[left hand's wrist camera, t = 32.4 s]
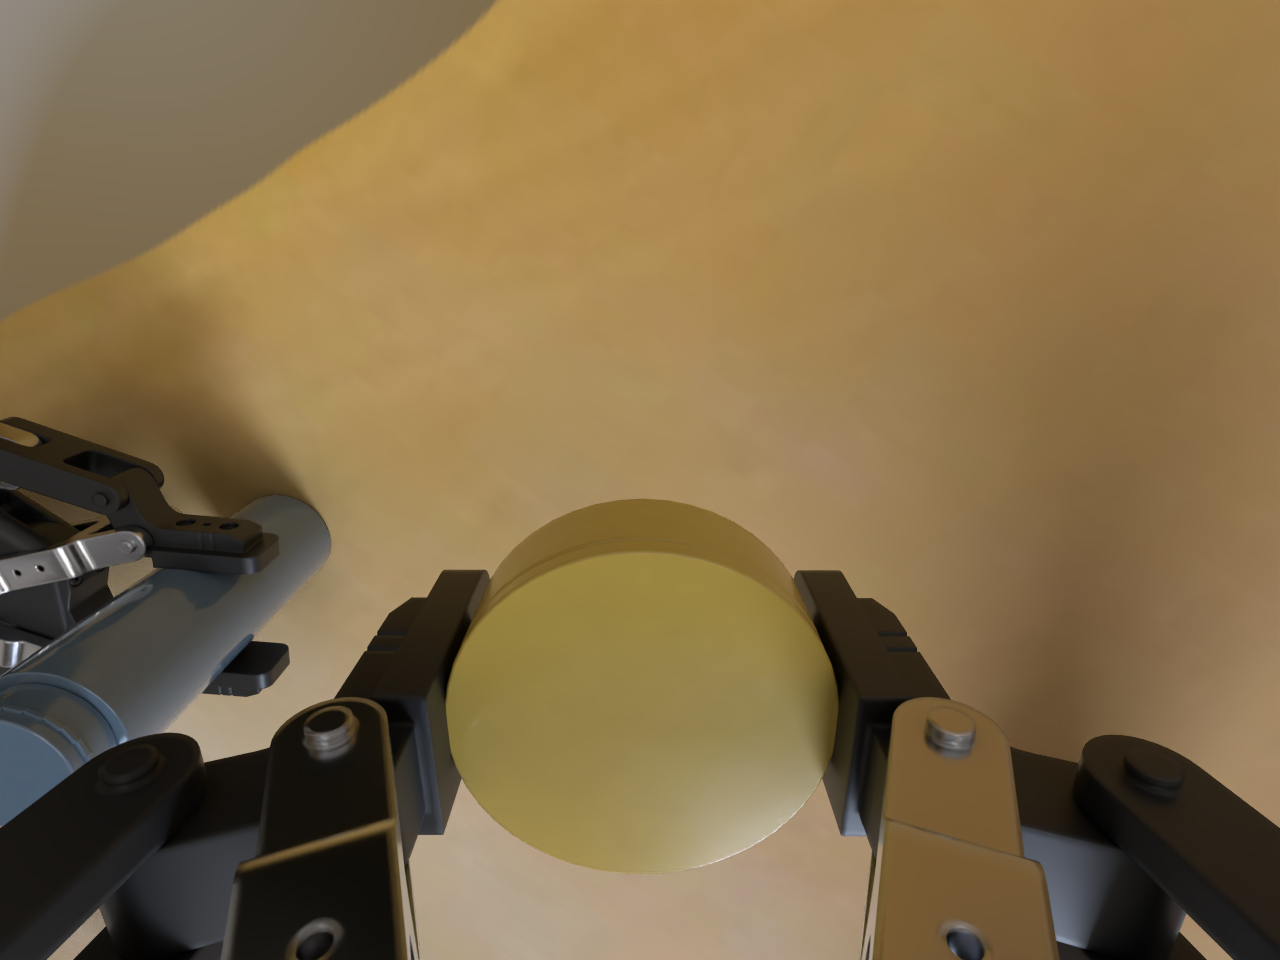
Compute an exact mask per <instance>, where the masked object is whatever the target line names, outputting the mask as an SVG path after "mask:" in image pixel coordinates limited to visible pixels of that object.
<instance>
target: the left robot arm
mask: <svg viewBox="0 0 1280 960" xmlns="http://www.w3.org/2000/svg"><path fill="white" fill-rule="evenodd" d="M489 581H490V578H489V574H488V572H487V570H443V571H442V573H441V574H440V576H439V578H438V579H437V581H436V583H435V585H434V586H433V588H432V590H431V591H430V593H429V595H428V597H427V598H410V599H409V600H408V601H406V602H405V603H403V604H402V605H401V606H399V607H398V608H396V609H395V610H394V611H392V612H391V613H389V615H388V616H387V618H386V619H385V621H384V622H383V624H382V626H381V627H380V629H379V630H378V632H377V636H374V638H373V639H372V641H371V642H370V644H369V646H368V647H367V651H365V652H364V653H363V655H362V656H361V658H360V659H359V661H358V662H357V664H356V666H355V667H354V669H353V670H352V672H351V673H350V675H349V676H348V678H347V679H346V681H345V683H344V684H343V686H342V687H341V689H340V690H339V692H338V693H337V695H336V696H335V698H334V699H331V700H327V701H324V702H320V703H318V704H315V705H312V706H310V707H308V708H306V709H304V710H302V711H300V712H299V713H297V714H295V715H294V716H293V717H291V718H290V719H289V720H287V721H286V722H285V723H284V724H283V725H282V726H281V727H280V728H279V729H278V731H277V732H276V733H275V735H274V737H273V739H272V741H271V745H270V747H269V748H267V749H263V750H259V751H255V752H251V753H246V754H242V755H237V756H233V757H228V758H223V759H219V760H214V761H210V762H205V763H204V762H203V758H202V754H201V751H200V747H199V745H198V743H197V742H196V741H195V740H194V739H193V738H191V737H189V736H187V735H184V734H180V733H159V734H152V735H147V736H143V737H139V738H136V739H133V740H129V741H127V742H124V743H122V744H119V745H117V746H114V747H112V748H110V749H108V750H106V751H104V752H102V753H101V754H99V755H97V756H96V757H94V758H92V759H91V760H90V761H88V762H87V763H85V764H84V765H82V766H81V767H80V768H79V769H77V770H76V771H75V772H73V773H72V774H71V775H69V776H68V777H67V778H65V779H64V780H63V781H61V782H60V783H59V784H58V785H56V786H55V787H54V788H52V789H51V790H50V791H48V792H47V793H46V794H44V795H43V796H42V797H40V798H39V799H38V800H37V801H35V802H34V803H33V804H31V805H30V806H29V807H27V808H26V809H25V810H23V811H22V812H21V813H19V814H18V815H17V816H16V817H14V818H13V819H12V820H10V821H9V822H8V823H6V824H5V825H4V826H2V827H1V828H0V960H47V959H48V958H49V957H50V956H51V955H52V954H53V953H54V952H55V951H56V950H57V949H58V948H59V947H60V946H61V945H62V944H63V943H64V942H65V941H66V940H67V939H68V938H69V937H70V936H71V935H72V934H73V933H74V932H75V931H76V930H77V929H78V928H79V927H80V926H81V925H82V924H83V923H84V922H85V921H86V920H87V919H88V918H89V917H90V916H91V915H92V914H93V913H94V912H95V911H96V910H97V909H98V908H100V911H101V913H102V916H103V919H104V921H105V924H106V927H105V928H104V929H103V930H102V931H101V932H100V933H99V934H98V935H97V936H96V937H95V938H94V939H93V940H92V941H91V942H90V943H89V944H88V945H87V946H86V947H85V948H84V949H83V950H82V951H81V952H80V953H79V954H78V955H77V956H76V958H75V959H74V960H421V955H420V946H419V937H418V928H417V919H416V910H415V901H414V892H413V883H412V874H411V868H410V861H409V858H410V855H411V853H412V850H413V847H414V844H415V842H416V839H417V836H418V835H443V834H444V831H445V828H446V825H447V822H448V819H449V815H450V812H451V809H452V806H453V803H454V800H455V797H456V794H457V791H458V788H459V785H460V781H461V778H462V777H461V776H460V774H459V772H458V770H457V768H456V765H455V762H454V760H453V757H452V754H451V749H450V741H449V733H448V725H447V716H446V706H445V697H446V689H447V683H448V679H449V676H450V673H451V669H452V666H453V662H454V660H455V658H456V655H457V653H458V651H459V649H460V647H461V644H462V641H463V639H464V637H465V634H466V632H467V630H468V627H469V625H470V623H471V620H472V618H473V616H474V613H475V611H476V609H477V607H478V604H479V602H480V600H481V597H482V595H483V593H484V591H485V589H486V587H487V585H488V583H489ZM794 581H795V583H796V585H797V587H798V589H799V592H800V594H801V596H802V598H803V600H804V603H805V605H806V607H807V609H808V612H809V614H810V616H811V619H812V621H813V623H814V625H815V628H816V630H817V632H818V634H819V637H820V639H821V641H822V644H823V646H824V648H825V650H826V653H827V655H828V657H829V659H830V662H831V664H832V667H833V671H834V675H835V678H836V682H837V685H838V694H839V707H838V717H837V725H836V733H835V741H834V749H833V755H832V757H831V760H830V763H829V765H828V768H827V770H826V772H825V774H824V776H823V778H822V779H823V782H824V785H825V788H826V791H827V794H828V797H829V800H830V803H831V806H832V809H833V812H834V815H835V818H836V821H837V824H838V827H839V830H840V833H841V836H867V838H868V840H869V843H870V846H871V848H872V855H871V861H870V868H869V874H868V883H867V892H866V901H865V910H864V919H863V928H862V937H861V946H860V955H859V960H1206V959H1205V958H1204V956H1203V955H1202V954H1201V953H1200V952H1199V951H1198V950H1197V949H1196V948H1195V947H1194V946H1193V945H1192V944H1191V943H1190V942H1189V941H1188V940H1187V939H1186V938H1185V937H1184V936H1183V935H1182V934H1181V933H1180V932H1179V931H1180V928H1181V926H1182V923H1183V921H1184V918H1185V915H1186V913H1187V914H1188V915H1189V916H1190V917H1191V918H1192V919H1193V920H1194V921H1195V922H1196V923H1197V924H1198V925H1199V926H1200V927H1201V928H1202V929H1203V930H1204V931H1205V932H1206V933H1207V934H1208V935H1209V936H1210V937H1211V938H1212V939H1213V940H1214V941H1215V942H1216V943H1217V944H1218V945H1219V946H1220V947H1221V948H1222V949H1223V950H1224V951H1225V952H1226V953H1227V954H1228V955H1229V956H1230V957H1231V958H1232V959H1233V960H1280V828H1279V827H1278V826H1276V825H1275V824H1274V823H1272V822H1271V821H1270V820H1268V819H1267V818H1266V817H1264V816H1263V815H1262V814H1261V813H1259V812H1258V811H1257V810H1255V809H1254V808H1253V807H1251V806H1250V805H1249V804H1247V803H1246V802H1245V801H1243V800H1242V799H1241V798H1240V797H1238V796H1237V795H1236V794H1234V793H1233V792H1232V791H1230V790H1229V789H1228V788H1226V787H1225V786H1224V785H1222V784H1221V783H1220V782H1219V781H1217V780H1216V779H1215V778H1213V777H1212V776H1211V775H1209V774H1208V773H1207V772H1205V771H1204V770H1203V769H1201V768H1200V767H1199V766H1197V765H1196V764H1194V763H1193V762H1192V761H1190V760H1189V759H1187V758H1185V757H1183V756H1182V755H1180V754H1178V753H1176V752H1174V751H1172V750H1170V749H1168V748H1166V747H1163V746H1161V745H1158V744H1156V743H1153V742H1150V741H1147V740H1144V739H1139V738H1135V737H1130V736H1123V735H1103V736H1099V737H1095V738H1093V739H1091V740H1089V741H1088V742H1087V743H1086V744H1085V746H1084V748H1083V751H1082V754H1081V758H1080V762H1079V763H1074V762H1070V761H1065V760H1061V759H1056V758H1051V757H1047V756H1042V755H1038V754H1033V753H1029V752H1025V751H1021V750H1018V749H1015V748H1012V747H1010V745H1009V741H1008V739H1007V737H1006V735H1005V733H1004V732H1003V731H1002V729H1001V728H1000V727H999V726H998V725H997V724H996V723H995V722H994V721H993V720H991V719H990V718H989V717H987V716H986V715H985V714H983V713H981V712H980V711H978V710H976V709H974V708H972V707H970V706H968V705H965V704H962V703H960V702H956V701H953V700H951V699H950V698H949V696H948V694H947V693H946V691H945V690H944V688H943V687H942V685H941V684H940V682H939V681H938V679H937V678H936V676H935V675H934V673H933V672H932V670H931V669H930V667H929V666H928V664H927V663H926V661H925V660H924V658H923V657H922V655H921V653H920V652H917V647H916V646H915V644H914V643H913V641H912V640H911V638H910V637H909V636H907V632H906V631H905V629H904V628H903V626H902V625H901V623H900V622H899V620H898V619H897V617H896V616H895V614H894V613H892V612H891V611H889V610H888V609H887V608H885V607H884V606H882V605H881V604H879V603H878V602H877V601H875V600H874V599H872V598H857V597H856V596H855V594H854V592H853V591H852V589H851V587H850V585H849V584H848V582H847V580H846V579H845V577H844V575H843V574H842V572H841V571H838V570H798V571H797V572H796V574H795V577H794Z"/></svg>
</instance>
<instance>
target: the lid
mask: <svg viewBox="0 0 1280 960" xmlns="http://www.w3.org/2000/svg"><path fill="white" fill-rule="evenodd" d="M445 706H446V716H447V725H448V733H449V741H450V749H451V754H452V757H453V760H454V762H455V765H456V768H457V770H458V772H459V774H460V776H461V777H462V779H463V781H464V783H465V785H466V787H467V788H468V789H469V791H470V792H471V794H472V795H473V796H474V798H475V799H476V800H477V802H478V803H479V804H480V805H481V807H482V808H483V809H484V810H485V811H486V812H487V813H488V814H489V815H490V816H491V817H492V818H493V819H494V820H495V821H496V822H497V823H499V824H500V825H501V826H502V827H504V828H505V829H506V830H507V831H509V832H510V833H511V834H512V835H514V836H516V837H517V838H519V839H520V840H522V841H523V842H525V843H527V844H528V845H530V846H532V847H534V848H536V849H538V850H540V851H542V852H544V853H546V854H548V855H550V856H552V857H555V858H558V859H561V860H563V861H566V862H569V863H572V864H575V865H579V866H583V867H587V868H591V869H595V870H602V871H608V872H615V873H629V874H655V873H668V872H675V871H682V870H689V869H693V868H697V867H701V866H705V865H709V864H712V863H715V862H718V861H720V860H723V859H726V858H729V857H732V856H734V855H736V854H738V853H740V852H742V851H744V850H746V849H748V848H750V847H752V846H754V845H756V844H757V843H759V842H760V841H762V840H764V839H765V838H767V837H768V836H770V835H772V834H773V833H774V832H775V831H777V830H778V829H779V828H780V827H782V826H783V825H784V824H785V823H787V822H788V821H789V820H790V819H791V818H792V817H793V816H794V815H795V814H796V813H797V812H798V811H799V810H800V809H801V808H802V807H803V806H804V804H805V803H806V802H807V800H808V799H809V798H810V796H811V795H812V794H813V792H814V791H815V790H816V788H817V787H818V785H819V783H820V781H821V779H822V778H823V776H824V774H825V772H826V770H827V768H828V765H829V763H830V760H831V757H832V755H833V749H834V741H835V733H836V725H837V717H838V707H839V694H838V685H837V682H836V678H835V675H834V671H833V667H832V664H831V662H830V659H829V657H828V655H827V653H826V650H825V648H824V646H823V644H822V641H821V639H820V637H819V634H818V632H817V630H816V628H815V625H814V623H813V621H812V619H811V616H810V614H809V612H808V609H807V607H806V605H805V603H804V600H803V598H802V596H801V594H800V592H799V589H798V587H797V585H796V583H795V581H794V579H793V578H792V576H791V575H790V573H789V572H788V570H787V569H786V567H785V566H784V564H783V563H782V562H781V561H780V560H779V559H778V557H777V556H776V555H775V554H774V553H773V552H772V551H771V549H770V548H768V547H767V546H766V545H765V544H764V543H763V542H761V541H760V540H759V539H758V538H757V537H756V536H754V535H753V534H752V533H750V532H749V531H747V530H746V529H744V528H742V527H741V526H739V525H738V524H736V523H735V522H733V521H731V520H729V519H726V518H724V517H722V516H720V515H718V514H716V513H714V512H711V511H708V510H705V509H702V508H699V507H695V506H692V505H688V504H683V503H678V502H673V501H667V500H653V499H631V500H617V501H612V502H606V503H601V504H595V505H592V506H589V507H586V508H582V509H579V510H576V511H573V512H571V513H568V514H566V515H564V516H562V517H560V518H557V519H555V520H553V521H551V522H549V523H548V524H546V525H545V526H543V527H541V528H540V529H538V530H537V531H535V532H533V533H532V534H531V535H530V536H528V537H527V538H526V539H525V540H524V541H522V542H521V543H520V544H519V545H518V546H516V547H515V548H514V549H513V551H512V552H511V553H510V554H509V555H508V556H507V557H506V558H505V559H504V560H503V562H502V563H501V564H500V566H499V567H498V569H497V570H496V571H495V573H494V574H493V576H492V577H491V579H490V581H489V583H488V585H487V587H486V589H485V591H484V593H483V595H482V597H481V600H480V602H479V604H478V607H477V609H476V611H475V613H474V616H473V618H472V620H471V623H470V625H469V627H468V630H467V632H466V634H465V637H464V639H463V641H462V644H461V647H460V649H459V651H458V653H457V655H456V658H455V660H454V662H453V666H452V669H451V673H450V676H449V679H448V683H447V689H446V697H445Z"/></svg>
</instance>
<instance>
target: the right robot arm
mask: <svg viewBox="0 0 1280 960" xmlns="http://www.w3.org/2000/svg"><path fill="white" fill-rule="evenodd" d="M163 484H164V475H163V473H162V471H161V470H160V469H159V468H158V467H157V466H156V465H155V464H153V463H150V462H147V461H145V460H142V459H139V458H136V457H133V456H130V455H127V454H124V453H121V452H118V451H115V450H112V449H109V448H107V447H104V446H101V445H98V444H95V443H92V442H89V441H86V440H83V439H80V438H77V437H74V436H71V435H69V434H66V433H63V432H60V431H57V430H54V429H51V428H48V427H45V426H42V425H39V424H36V423H33V422H31V421H28V420H25V419H22V418H18V417H10V418H7V419H3V420H0V676H1V675H3V674H4V673H5V672H7V671H8V670H10V669H11V668H13V667H14V666H16V665H17V664H18V663H20V662H21V661H23V660H24V659H26V658H27V657H29V656H30V655H31V654H33V653H34V652H36V651H37V650H39V649H40V648H42V647H43V646H44V645H46V644H47V643H49V642H50V641H52V640H53V639H55V638H56V637H57V636H59V635H60V634H62V633H63V632H65V631H66V630H68V629H69V628H70V627H72V626H73V625H75V624H76V623H78V622H79V621H81V620H82V619H83V618H85V617H86V616H88V615H89V614H91V613H92V612H94V611H95V610H96V609H98V608H99V607H101V606H102V605H104V604H105V603H107V602H108V601H110V600H111V599H112V598H114V597H113V595H112V593H111V591H110V589H109V587H108V585H107V581H108V573H109V566H114V565H118V564H123V563H128V562H133V561H137V560H139V559H141V558H143V557H152V561H153V567H154V568H166V569H182V570H191V571H203V572H215V573H228V574H240V575H249V574H255V573H258V572H260V571H262V570H263V569H264V568H265V567H266V566H268V565H269V564H270V563H271V562H272V561H273V560H274V559H275V558H277V557H278V556H279V555H280V544H279V536H278V535H276V534H273V533H263V532H262V525H260V524H257V523H255V522H253V521H250V520H246V519H232V518H221V517H211V516H199V515H187V514H183V513H182V512H181V511H180V510H178V509H177V508H175V507H172V506H169V505H168V504H167V502H166V501H165V499H164V497H163V495H162V493H161V491H160V488H161V487H162V486H163ZM19 488H24V489H27V490H30V491H33V492H36V493H39V494H42V495H45V496H48V497H51V498H54V499H57V500H60V501H63V502H66V503H69V504H72V505H75V506H78V507H81V508H84V509H87V510H90V511H93V512H96V513H99V514H103V515H106V516H102V517H97V518H92V519H88V520H83V521H78V522H73V523H67V522H66V521H64V520H63V519H61V518H60V517H58V516H56V515H55V514H53V513H52V512H50V511H49V510H47V509H46V508H44V507H43V506H41V505H39V504H38V503H36V502H35V501H33V500H32V499H30V498H29V497H27V496H26V495H24V494H22V493H21V492H19V491H18V490H16V489H19ZM289 663H290V659H289V648H288V646H287V645H286V644H282V643H270V642H258V641H251V642H250V643H249V644H248V645H247V646H246V647H245V648H244V649H243V650H242V651H241V652H240V653H239V654H238V655H237V656H236V657H235V659H234V660H233V661H232V662H231V663H230V664H229V665H228V666H227V667H226V668H225V669H224V670H223V671H222V672H221V673H220V674H219V675H218V676H217V677H216V678H215V679H214V681H213V682H212V683H211V684H210V685H209V686H208V687H207V688H206V689H205V690H204V691H203V692H202V693H204V694H217V695H220V694H223V695H230V696H231V695H233V696H243V697H248V696H251V695H255V694H259V693H260V691H261V690H262V689H264V688H267V687H269V686H271V685H272V684H273V683H274V682H275V681H276V680H277V679H278V677H279V676H280V675H281V674H282V672H283V671H284V670H285V669H286V667H287V666H288V665H289Z"/></svg>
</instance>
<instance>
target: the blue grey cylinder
mask: <svg viewBox="0 0 1280 960" xmlns="http://www.w3.org/2000/svg"><path fill="white" fill-rule="evenodd" d="M230 518H232V519H246V520H250V521H253V522H255V523H257V524H260V525H262V532H263V533H273V534H276V535H278V536H279V544H280V555H279V556H278V557H277V558H275V559H274V560H273V561H272V562H271V563H270V564H269V565H268V566H266V567H265V568H264V569H263V570H262V571H260V572H258V573H255V574H249V575H240V574H228V573H215V572H203V571H191V570H182V569H166V568H156V569H154V570H153V571H151V572H150V573H149V574H147V575H146V576H144V577H143V578H141V579H140V580H138V581H137V582H136V583H134V584H133V585H131V586H130V587H128V588H127V589H125V590H124V591H123V592H121V593H120V594H118V595H117V596H115V597H114V598H112V599H111V600H110V601H108V602H107V603H105V604H104V605H102V606H101V607H99V608H98V609H96V610H95V611H94V612H92V613H91V614H89V615H88V616H86V617H85V618H83V619H82V620H81V621H79V622H78V623H76V624H75V625H73V626H72V627H70V628H69V629H68V630H66V631H65V632H63V633H62V634H60V635H59V636H57V637H56V638H55V639H53V640H52V641H50V642H49V643H47V644H46V645H44V646H43V647H42V648H40V649H39V650H37V651H36V652H34V653H33V654H31V655H30V656H29V657H27V658H26V659H24V660H23V661H21V662H20V663H18V664H17V665H16V666H14V667H13V668H11V669H10V670H8V671H7V672H5V673H4V674H3V675H1V676H0V825H1V826H4V825H5V824H6V823H8V822H9V821H10V820H12V819H13V818H14V817H16V816H17V815H18V814H19V813H21V812H22V811H23V810H25V809H26V808H27V807H29V806H30V805H31V804H33V803H34V802H35V801H37V800H38V799H39V798H40V797H42V796H43V795H44V794H46V793H47V792H48V791H50V790H51V789H52V788H54V787H55V786H56V785H58V784H59V783H60V782H61V781H63V780H64V779H65V778H67V777H68V776H69V775H71V774H72V773H73V772H75V771H76V770H77V769H79V768H80V767H81V766H82V765H84V764H85V763H87V762H88V761H90V760H91V759H92V758H94V757H96V756H97V755H99V754H101V753H102V752H104V751H106V750H108V749H110V748H112V747H114V746H117V745H119V744H122V743H124V742H127V741H129V740H133V739H136V738H139V737H143V736H147V735H152V734H159V733H164V732H165V731H166V730H167V729H168V728H169V727H170V726H171V725H172V724H173V722H174V721H175V720H176V719H177V718H178V717H179V716H180V715H181V714H182V713H183V712H184V711H185V710H186V709H187V708H188V707H189V706H190V705H191V704H192V703H193V701H194V700H195V699H196V698H197V697H198V696H199V695H200V694H201V693H202V692H203V691H204V690H205V689H206V688H207V687H208V686H209V685H210V684H211V683H212V682H213V681H214V679H215V678H216V677H217V676H218V675H219V674H220V673H221V672H222V671H223V670H224V669H225V668H226V667H227V666H228V665H229V664H230V663H231V662H232V661H233V660H234V659H235V657H236V656H237V655H238V654H239V653H240V652H241V651H242V650H243V649H244V648H245V647H246V646H247V645H248V644H249V643H250V642H251V641H252V640H253V639H254V638H255V636H256V635H257V634H258V633H259V632H260V631H261V630H262V629H263V628H264V627H265V626H266V625H267V624H268V623H269V622H270V621H271V620H272V619H273V618H274V617H275V616H276V614H277V613H278V612H279V611H280V610H281V609H282V608H283V607H284V606H285V605H286V604H287V603H288V602H289V601H290V600H291V599H292V598H293V597H294V596H295V595H296V593H297V592H298V591H299V590H300V589H301V588H302V587H303V586H304V585H305V584H306V583H307V582H308V581H309V580H310V579H311V578H312V577H313V576H314V575H315V574H316V573H317V571H318V570H319V569H320V568H321V567H322V566H323V565H324V564H325V562H326V560H327V558H328V556H329V553H330V545H331V542H330V535H329V531H328V529H327V526H326V524H325V523H324V521H323V520H322V518H321V517H320V516H319V514H318V513H317V512H316V511H315V510H314V509H312V508H311V507H310V506H308V505H307V504H305V503H304V502H302V501H300V500H297V499H295V498H292V497H288V496H283V495H269V496H264V497H261V498H258V499H256V500H254V501H253V502H251V503H250V504H248V505H247V506H245V507H244V508H243V509H241V510H240V511H238V512H237V513H235V514H234V515H232V516H231V517H230Z"/></svg>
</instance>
